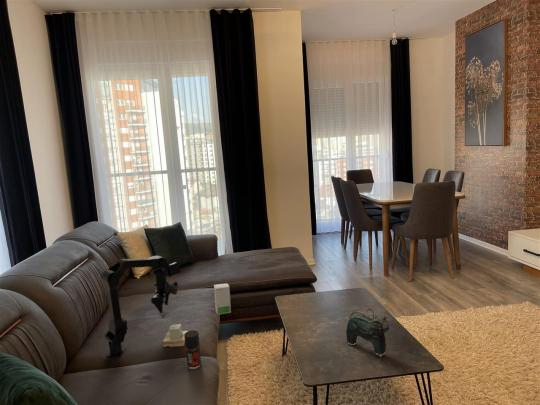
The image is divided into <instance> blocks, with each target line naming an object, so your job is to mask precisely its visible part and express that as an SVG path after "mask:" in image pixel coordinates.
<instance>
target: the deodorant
mask: <svg viewBox="0 0 540 405" xmlns="http://www.w3.org/2000/svg"><path fill="white" fill-rule="evenodd" d="M187 331H188V332H186V333H185V334H184V336H185V344H184V346H185V347H184V348H185V355H186V366H187V365H188V366H189V367H196V366H199V365H200V364H201V365H202V359H201V358H202V357H201V356H202V355H201V347H200V338H199V336H200V335H199V330H193V329H192V330H187Z"/></svg>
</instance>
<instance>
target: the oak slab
mask: <svg viewBox="0 0 540 405" xmlns="http://www.w3.org/2000/svg"><path fill="white" fill-rule="evenodd" d="M188 331H189V330H182V336H181V338H180V339H170V336H169V331H168V332H166V335H165V337H164V339H163V341H162V347H163V346H164V347H165V348H166V346H170V347H184V346H185V336H184V334H185V333H186V332H188ZM164 347H163V348H164Z"/></svg>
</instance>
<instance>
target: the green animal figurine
mask: <svg viewBox="0 0 540 405" xmlns="http://www.w3.org/2000/svg"><path fill="white" fill-rule="evenodd" d="M368 311H371V312H372V314H373V316H372V318H371V317H370V316H367V315H365V314H363V313H362V312H359V311H357V312H356V311H355V312H354V311H353V312H352V313H351V314H350V316H349V320H347V324H346V330H345V334H346V341H347V343H348V342H349V343H351V344H354V343H356V344H357V339H358V337H360V338H362V339H363V340H366V341H369V342H371V345H372V346H373V348H374V353H375V352H376V353H378V354H383V353H384V352H385V351H386V350H387V349H386V347H387V344H386V335H385V333H387V332H388V331H389V330H390V322H389V321H388V320H387V317H386V316H384V317H378V315H377V314H375V312H374V311H373V309H372V308H368V309H367V310H366V312H368ZM354 314H355V315H354ZM356 314H357V315H356ZM353 315H354V316H353Z"/></svg>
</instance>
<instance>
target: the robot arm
mask: <svg viewBox="0 0 540 405" xmlns="http://www.w3.org/2000/svg"><path fill="white" fill-rule="evenodd" d="M178 264H179V263H178V262H176V261H174V262H173V263H168V260H167V259H166V258H165V257H163V256H161V255H153V256H149V257H147V258H121V259H119V260H118V261H117V262H116V263H114V264H113V265H111V266H110V267H108V268H107V269H106V270H104V271H103V272H102V274H100V277H101V278H100V279H101V281H102V285H103V286H104V288H105V290H106V292H107V302H108V308H109V314H110V320H109V324H108V331H107V332H106V333H105V335H104V338H105V340H106V341H108V350H109V352H108V353H107V354H106V357H107V358H108V357H109V358H111V357H121V356H122V355H123V353H124V352H125V351H126V347H123V343H124V341H125V337H126V334H128V333H127V332H128V330H129V328H128V321H127V320H126V319H125V318H122V311H121V306H120V299H119V298H120V297H119V291H118V290H119V287H120V286H119V285H120V279H121V278H122V277H123V276H124V274H125V272H126V270H128V269H133V268H152V270H150V273H149V274H150V275H154V282H155V283H154V287H155V291H154V293H155V294H154V295H153V296H152V298H150V304H152V305H154V307H155V308H156V309H157V310H158V312H159V313H160V314H163V312H164V305H165V306H168V305H169V299H170V295H171V294H172V295H177V294H178V292H179V289H180V285H179V282H178V281H174V282H172V283H170V281H169V280H168V278H172V277H176V276H179V275H181V271H182V270H181V267H180V266H179V265H178ZM167 277H168V278H167Z"/></svg>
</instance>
